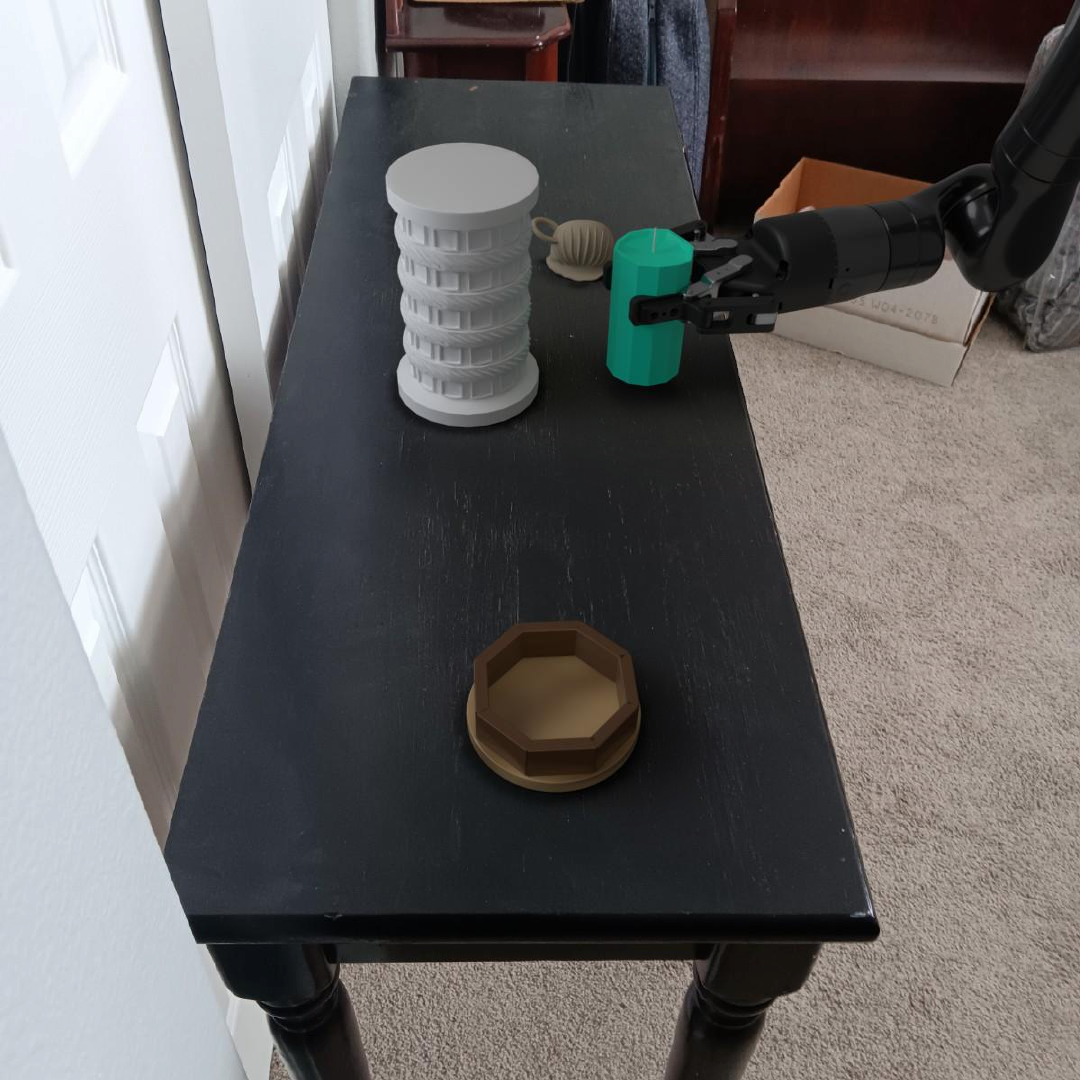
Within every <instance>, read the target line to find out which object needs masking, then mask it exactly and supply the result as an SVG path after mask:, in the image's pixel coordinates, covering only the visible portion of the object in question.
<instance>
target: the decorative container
mask: <svg viewBox="0 0 1080 1080" xmlns="http://www.w3.org/2000/svg"><path fill="white" fill-rule="evenodd" d="M385 187H386V188H385V189H386V197H387V203H388V205H390V206H391V208H392V209H393V211H394V212H395V213H397V215H396V218H395V222H394V227H393V229H394V231H393V232H394V236H395V240H396V242H397V247H398V248H399V250H400V255H399V257H398V261H397V276H398V279H399V281H400V285H401V286H402V289H403V290H402V294H401V298H400V303H399V304H400V305H399V306H400V307H399V308H400V313H401V316H402V318H403V322H404V324H405V327H404V331H403V337H402V345H403V350H404V351H405V354H404V355H403V356H402V358H401V359H400V360H399V362H398V367H397V369H396V377H397V378H396V379H397V387H398V395H399V397H400V398H401V400H402V401H403V404H404V405H405V406H406V407H407V408H409V409H410V410H411V411H412V412H413V413H415V414H416V415H417V416H418V417H422V418H423V419H426V420H428V421H430V422H433V423H437V424H440V425H445V426H448V427H460V428H461V427H463V428H474V427H484V426H490V425H494V424H497V423H502V422H506V421H508V420H509V419H512V418H513V417H515V416H518V415H520V414H521V413H522V412H524V411H525V409H526V408H528V407H529V406H530V405H532V403H533V401H534V399H535V398H536V396H537V394H538V390H539V383H540V382H539V381H540V370H539V366H538V363H537V360H536V358H535V357H534V355H533V354H532V353H531V352H530V346H531V342H530V341H531V339H532V337H531V336H530V335H531V332H530V329H529V325H528V322H529V320H530V316H531V311H532V308H531V305H533V302H532V301H531V299H532V297H531V295H530V292H529V285H530V282H531V278H532V277H531V276H532V274H533V271H532V269H533V265H532V258H531V256H530V255H531V254H530V252H529V248H530V247H531V242H532V241H531V240H532V236H533V235H534V232H533V231H532V229H533V227H532V220H533V219H532V217H531V214H530V213H531V210H533V208H534V207H535V206H536V205H537V203H538V199H539V195H540V175H539V172H538V169H537V167H536V166H535V165H534V164H533V163H532V162H531V161H530V160H529V159H528V158H526V157H524V156H523V155H521V154H519V153H517V152H516V151H514V150H510V149H507V148H504V147H501V146H496V145H491V144H486V143H475V142H450V143H449V142H448V143H447V142H446V143H440V144H434V145H429V146H428V145H427V146H425V147H422V148H418V149H415V150H411V151H410V152H408V153H406V154H404V155H402V156H400V157H399V158H397V159H396V160H395V161H394V162H392V164H390V165H389V166H388V169H387V172H386V174H385Z"/></svg>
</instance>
